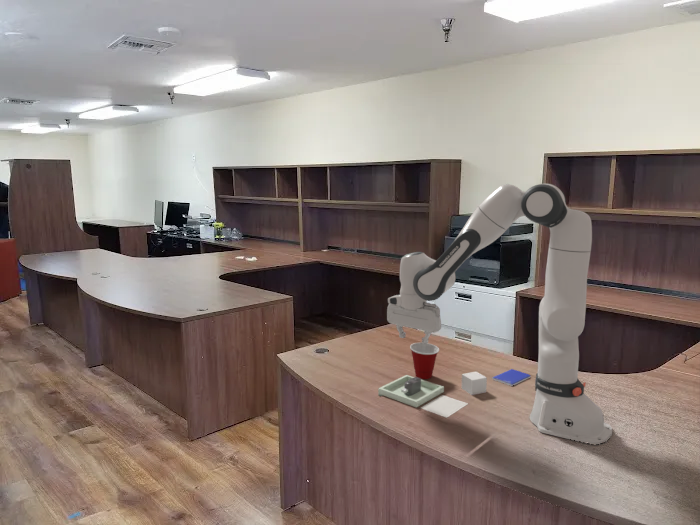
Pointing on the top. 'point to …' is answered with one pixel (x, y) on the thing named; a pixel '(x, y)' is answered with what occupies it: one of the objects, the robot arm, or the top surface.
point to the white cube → (474, 383)
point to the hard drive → (511, 377)
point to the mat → (444, 406)
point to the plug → (412, 386)
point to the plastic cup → (424, 359)
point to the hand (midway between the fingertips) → (413, 340)
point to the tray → (415, 400)
